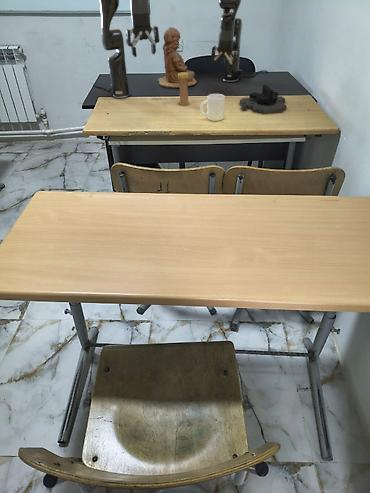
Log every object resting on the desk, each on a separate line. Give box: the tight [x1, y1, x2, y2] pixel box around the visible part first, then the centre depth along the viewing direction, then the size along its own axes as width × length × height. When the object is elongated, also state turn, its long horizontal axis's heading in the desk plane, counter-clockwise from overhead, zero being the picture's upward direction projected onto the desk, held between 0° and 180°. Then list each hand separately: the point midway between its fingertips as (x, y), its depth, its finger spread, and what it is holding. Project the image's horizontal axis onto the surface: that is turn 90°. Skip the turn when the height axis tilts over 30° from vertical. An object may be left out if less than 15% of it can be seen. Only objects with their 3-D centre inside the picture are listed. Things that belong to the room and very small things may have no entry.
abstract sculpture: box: [239, 84, 287, 115], centre depth 184 cm, size 25×9×20 cm
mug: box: [199, 93, 226, 122], centre depth 172 cm, size 12×8×10 cm
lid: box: [178, 72, 189, 79], centre depth 184 cm, size 6×6×2 cm
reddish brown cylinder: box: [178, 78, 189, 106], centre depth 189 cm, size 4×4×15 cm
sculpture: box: [157, 27, 198, 89], centre depth 214 cm, size 27×24×30 cm
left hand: (144, 55), depth 157 cm, fingers open, 8 cm apart
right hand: (223, 68), depth 198 cm, fingers open, 8 cm apart
